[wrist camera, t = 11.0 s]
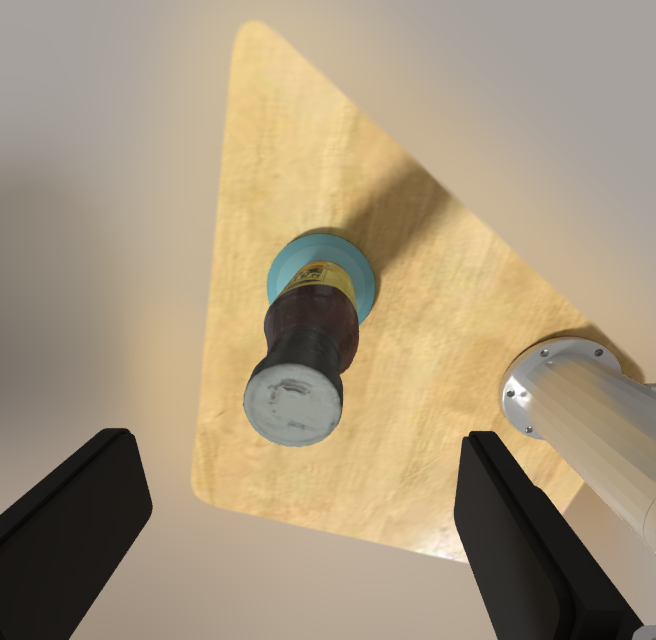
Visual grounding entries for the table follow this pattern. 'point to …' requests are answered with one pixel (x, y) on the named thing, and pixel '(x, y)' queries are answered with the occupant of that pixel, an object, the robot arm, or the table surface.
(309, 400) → the sauce bottle
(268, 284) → the coaster
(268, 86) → the table surface
